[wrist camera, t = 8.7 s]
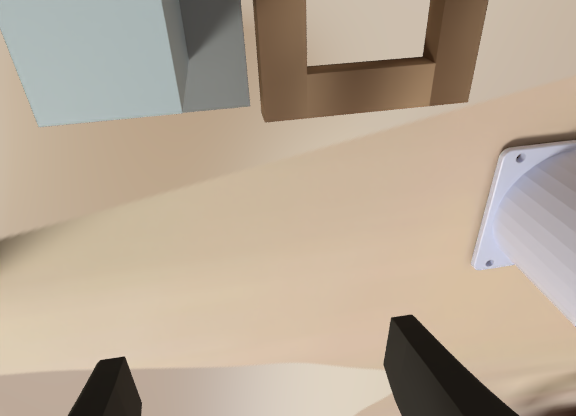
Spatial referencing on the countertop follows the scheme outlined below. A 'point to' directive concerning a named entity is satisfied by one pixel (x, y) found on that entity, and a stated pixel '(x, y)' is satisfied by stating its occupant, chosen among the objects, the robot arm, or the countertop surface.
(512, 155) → the robot arm
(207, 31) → the rubber mat
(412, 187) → the countertop surface
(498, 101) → the countertop surface
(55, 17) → the painted block
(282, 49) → the walnut frame
